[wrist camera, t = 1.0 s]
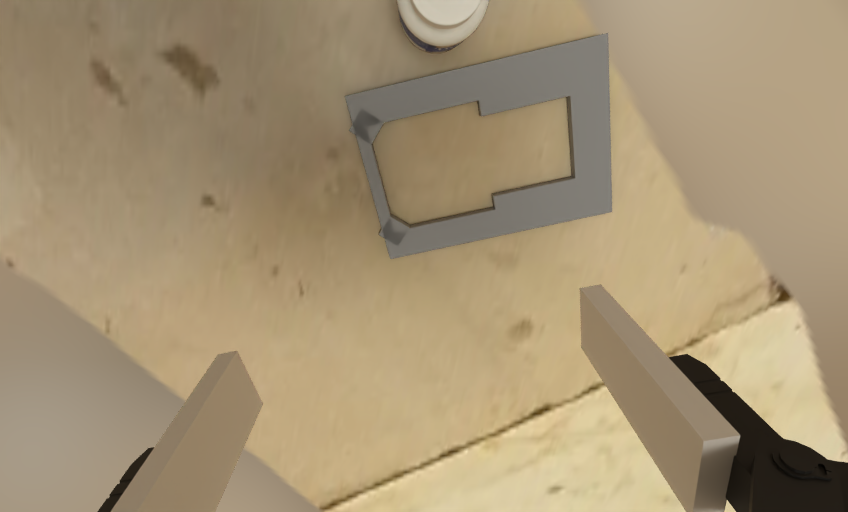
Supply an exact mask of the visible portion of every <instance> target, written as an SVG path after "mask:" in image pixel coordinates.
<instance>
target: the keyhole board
mask: <svg viewBox="0 0 848 512" xmlns="http://www.w3.org/2000/svg"><path fill="white" fill-rule="evenodd" d="M563 97H567V108H568V124H569V139H570V155H571V171H572V176H571V177H566V178H562V179H557V180H553V181H548V182H544V183H539V184H535V185H530V186H526V187H521V188H516V189H512V190H507V191H503V192H498V193H494V194H492V200H493V206H494V207H491V208H486V209H482V210H477V211H473V212H468V213H463V214H459V215H454V216H450V217H445V218H440V219H436V220H431V221H427V222H422V223H417V224H413V225H409V224H407V223H406V222H404V221H402V220H400V219H399V218H397V217H395V216H394V215H392V214H391V213H390V209H389V205H388V202H387V198H386V194H385V190H384V186H383V183H382V179H381V175H380V171H379V168H378V164H377V160H376V156H375V152H374V149H373V145H372V143H373V141H374V139H375V137H376V136H377V134H378V132H379V130H380V129H381V127H382V125H383V123H384V122H389V121H393V120H397V119H401V118H406V117H410V116H414V115H419V114H423V113H427V112H431V111H436V110H440V109H444V108H448V107H453V106H457V105H461V104H465V103H470V102H474V101H478V107H479V114H480V116H485V115H489V114H494V113H498V112H502V111H507V110H511V109H515V108H520V107H524V106H528V105H533V104H537V103H541V102H546V101H550V100H554V99H558V98H563ZM345 99H346V102H347V106H348V110H349V113H350V117H351V120H352V126H351V128H350V130H349V131H350V132H352V133H353V134H355V135H356V138H357V142H358V145H359V149H360V153H361V156H362V160H363V163H364V167H365V170H366V174H367V178H368V181H369V185H370V188H371V192H372V195H373V199H374V203H375V206H376V210H377V213H378V217H379V221H380V224H381V230H380V232H379V235H380V236H381V237H383V238H385V242H386V246H387V249H388V253H389V256H390V259H394V258H398V257H403V256H408V255H412V254H417V253H422V252H426V251H431V250H436V249H440V248H445V247H450V246H454V245H459V244H464V243H469V242H473V241H478V240H483V239H487V238H492V237H497V236H501V235H506V234H511V233H515V232H520V231H525V230H529V229H534V228H539V227H544V226H548V225H553V224H558V223H562V222H567V221H572V220H576V219H581V218H586V217H590V216H595V215H600V214H605V213H609V212H612V184H611V139H610V95H609V50H608V33H606V34H602V35H597V36H593V37H589V38H585V39H581V40H577V41H572V42H568V43H564V44H560V45H556V46H552V47H547V48H543V49H539V50H535V51H531V52H527V53H522V54H518V55H514V56H510V57H506V58H502V59H497V60H493V61H489V62H485V63H481V64H477V65H472V66H468V67H464V68H460V69H456V70H452V71H447V72H443V73H439V74H435V75H431V76H427V77H422V78H418V79H414V80H410V81H406V82H402V83H397V84H393V85H389V86H385V87H381V88H377V89H372V90H368V91H364V92H360V93H356V94H352V95H347V96H345Z"/></svg>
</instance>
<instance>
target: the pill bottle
mask: <svg viewBox="0 0 848 512" xmlns="http://www.w3.org/2000/svg"><path fill="white" fill-rule="evenodd" d="M488 2H489V0H397V5H398V12H399V18H400V22H401V25H402V28H403V30H404V32H405V34H406V36H407V37H408V39H409V40H410V41H411V42H412V43H413V44H414V45H415V46H416V47H418V48H419V49H421V50H423V51H426V52H430V53H442V52H446V51H449V50H451V49H453V48H454V47H456V46H457V45H459V44H460V43H461V42H463V41H464V40H465V39H466V38H467V37H469V36H470V35H471V34H472V33H473V32H474V31H475V30H476V29H477V27H478V26H479V24H480V23H481V21H482V19H483V17H484V15H485V13H486V10H487V7H488Z"/></svg>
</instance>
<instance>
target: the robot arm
mask: <svg viewBox="0 0 848 512" xmlns="http://www.w3.org/2000/svg"><path fill="white" fill-rule="evenodd" d="M580 312H581V348H582V349H583V351H584V352H585V354H586V356H587V357H588V359H589V360H590V362H591V363H592V365H593V366H594V368H595V370H596V371H597V373H598V374H599V376H600V377H601V379H602V381H603V382H604V384H605V385H606V387H607V388H608V390H609V392H610V393H611V395H612V396H613V398H614V399H615V401H616V402H617V404H618V406H619V407H620V409H621V410H622V412H623V413H624V415H625V417H626V418H627V420H628V421H629V423H630V424H631V426H632V428H633V429H634V431H635V432H636V434H637V435H638V437H639V438H640V440H641V442H642V443H643V445H644V446H645V448H646V449H647V451H648V453H649V454H650V456H651V457H652V459H653V460H654V462H655V464H656V465H657V467H658V468H659V470H660V471H661V473H662V474H663V476H664V478H665V479H666V481H667V482H668V484H669V485H670V487H671V489H672V490H673V492H674V493H675V495H676V496H677V498H678V500H679V501H680V503H681V504H682V506H683V507H684V509H685V510H686V512H724V510H725V506H726V501H727V500H728V501H729V503H730V504H731V505H732V507H733V508H734V509H735V511H736V512H848V463H846V462H837V461H832V460H827V459H826V458H825V457H823V456H822V455H820V454H819V453H817V452H816V451H814V450H813V449H811V448H809V447H807V446H805V445H802V444H800V443H798V442H795V441H791V440H786V439H783V438H782V437H781V436H780V435H778V434H777V433H776V432H775V431H774V430H773V429H772V428H771V427H770V426H769V425H768V424H767V423H766V422H765V421H764V420H763V419H762V418H761V417H760V416H759V415H758V414H757V413H756V412H755V411H754V410H753V409H752V408H751V407H749V406H748V405H747V404H746V403H745V402H744V401H743V400H742V399H741V398H740V397H739V396H738V395H737V394H736V393H735V392H734V393H733V392H732V389H731V388H730V387H729V386H728V385H727V384H726V383H725V382H724V381H721V380H720V378H719V377H718V376H717V375H716V374H715V373H714V372H713V371H712V370H711V369H710V368H709V367H708V366H707V365H706V364H704V363H702V362H700V361H699V360H697V359H695V358H693V357H691V356H690V355H688V354H685V355H679V356H673V357H668V356H667V355H666V354H665V353H664V352H663V351H662V350H661V349H660V348H659V347H658V346H657V345H656V344H655V342H654V341H653V340H652V339H651V338H650V337H649V336H648V335H647V334H646V333H645V332H644V331H643V329H642V328H641V327H640V326H639V325H638V324H637V323H636V322H635V321H634V320H633V319H632V318H631V317H630V315H629V314H628V313H627V312H626V311H625V310H624V309H623V308H622V307H621V306H620V305H619V304H618V302H617V301H616V300H615V299H614V298H613V297H612V296H611V295H610V294H609V293H608V292H607V291H606V290H605V288H604V287H603V286H602V285H601V284H600V285H595V286H589V287H584V288H580ZM262 405H263V402H262V400H261V398H260V396H259V394H258V392H257V390H256V388H255V386H254V384H253V382H252V380H251V378H250V376H249V374H248V372H247V370H246V368H245V366H244V364H243V362H242V360H241V358H240V356H239V354H238V352H237V351H234V352H228V353H223V354H218V355H217V357H216V358H215V360H214V361H213V362H212V364H211V365H210V367H209V368H208V370H207V371H206V373H205V374H204V376H203V377H202V379H201V380H200V382H199V383H198V384H197V386H196V387H195V389H194V390H193V392H192V393H191V395H190V396H189V398H188V399H187V401H186V402H185V403H184V405H183V406H182V408H181V409H180V411H179V412H178V414H177V415H176V417H175V418H174V420H173V421H172V423H171V424H170V425H169V427H168V428H167V430H166V432H165V433H164V434H163V436H162V437H161V439H160V440H159V442H158V443H157V444H156V446H155V447H153V448H148V449H147V450H146V451H145V452H144V453H143V454H142V455H141V456H140V457H139V458H138V459H136V461H134V462H133V463H132V465H131V466H130V467H129V469H128V470H127V471H126V473H125V474H124V475H123V477H122V478H121V480H120V484H117V486H116V487H115V488H114V490H113V491H112V492H111V494H110V497H109V498H108V499H106V501H105V502H104V504H103V505H102V506H101V508H100V509H99V511H98V512H215V511H216V508H217V506H218V504H219V502H220V500H221V498H222V495H223V493H224V491H225V488H226V486H227V484H228V481H229V479H230V477H231V475H232V473H233V470H234V468H235V466H236V464H237V461H238V459H239V457H240V455H241V452H242V450H243V448H244V446H245V443H246V441H247V439H248V437H249V434H250V432H251V430H252V428H253V425H254V423H255V421H256V418H257V416H258V414H259V412H260V409H261V407H262Z"/></svg>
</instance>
